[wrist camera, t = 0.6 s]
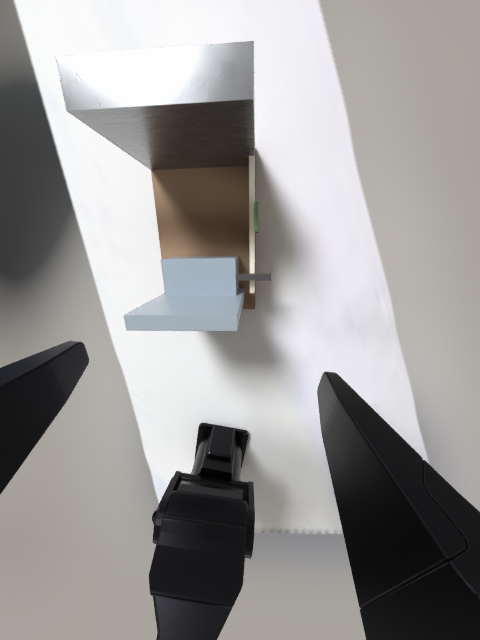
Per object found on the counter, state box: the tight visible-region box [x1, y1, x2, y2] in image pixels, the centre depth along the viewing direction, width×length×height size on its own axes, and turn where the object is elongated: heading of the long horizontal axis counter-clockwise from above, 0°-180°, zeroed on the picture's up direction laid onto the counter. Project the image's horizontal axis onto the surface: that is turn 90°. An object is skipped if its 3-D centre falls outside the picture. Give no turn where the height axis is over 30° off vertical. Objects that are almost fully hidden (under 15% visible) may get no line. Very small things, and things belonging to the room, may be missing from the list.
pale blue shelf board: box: [124, 256, 271, 331], centre depth 18 cm, size 4×9×9 cm, turn 91°
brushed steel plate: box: [56, 41, 255, 170], centre depth 15 cm, size 2×9×10 cm, turn 91°
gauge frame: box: [151, 155, 258, 309], centre depth 21 cm, size 14×9×5 cm, turn 1°
